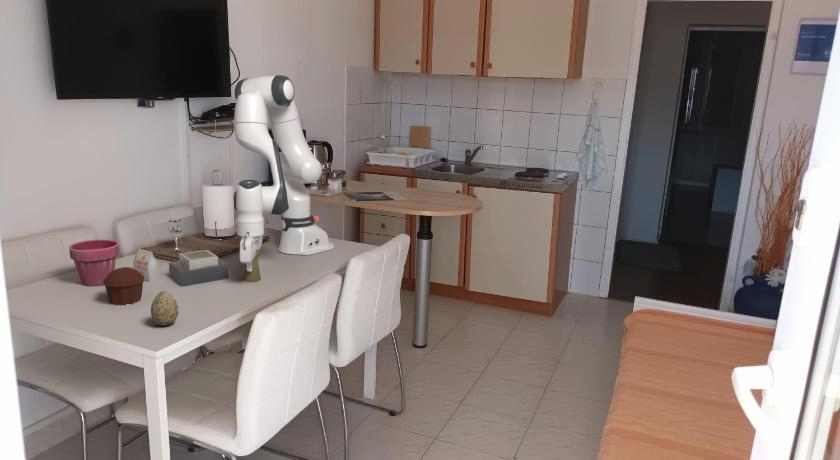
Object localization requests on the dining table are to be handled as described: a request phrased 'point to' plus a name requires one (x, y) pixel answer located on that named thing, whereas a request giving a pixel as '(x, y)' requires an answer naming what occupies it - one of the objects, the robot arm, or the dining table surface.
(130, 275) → the muffin
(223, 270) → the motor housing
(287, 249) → the robot arm
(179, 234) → the wineglass
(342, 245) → the dining table surface
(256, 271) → the cork
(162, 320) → the decorative egg
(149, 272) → the white box
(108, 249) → the plant pot
